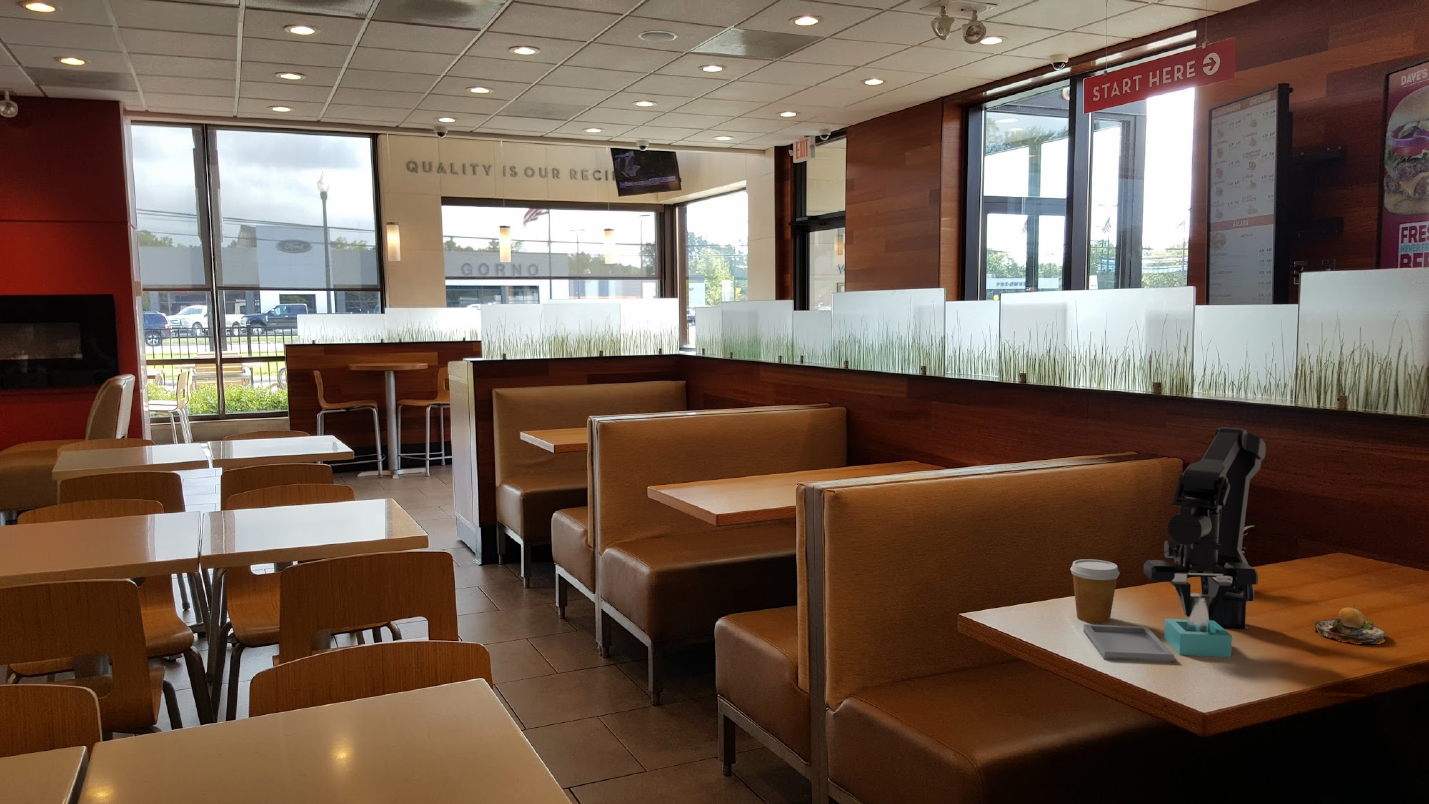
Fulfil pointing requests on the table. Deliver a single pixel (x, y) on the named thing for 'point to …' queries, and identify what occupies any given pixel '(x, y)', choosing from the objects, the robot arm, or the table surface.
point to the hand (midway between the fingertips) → (1197, 616)
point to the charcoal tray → (1127, 643)
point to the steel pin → (1198, 613)
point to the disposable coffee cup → (1094, 589)
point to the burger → (1350, 628)
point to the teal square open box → (1197, 639)
